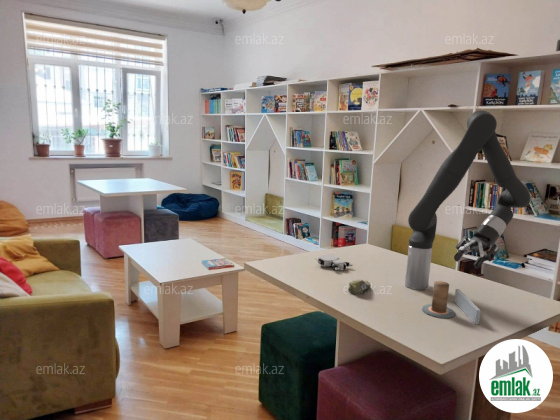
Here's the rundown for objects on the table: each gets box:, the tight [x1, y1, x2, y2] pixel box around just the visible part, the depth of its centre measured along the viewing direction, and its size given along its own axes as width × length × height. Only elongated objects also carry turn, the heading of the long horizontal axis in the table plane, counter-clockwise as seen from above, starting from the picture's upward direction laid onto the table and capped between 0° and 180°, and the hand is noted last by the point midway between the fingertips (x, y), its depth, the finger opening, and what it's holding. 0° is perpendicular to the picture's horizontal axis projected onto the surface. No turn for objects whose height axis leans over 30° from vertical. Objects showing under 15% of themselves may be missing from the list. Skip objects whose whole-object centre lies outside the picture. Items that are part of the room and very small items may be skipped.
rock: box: [347, 279, 371, 295], centre depth 170 cm, size 11×6×10 cm
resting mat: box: [421, 303, 456, 319], centre depth 152 cm, size 11×11×1 cm
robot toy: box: [314, 253, 354, 271], centre depth 199 cm, size 12×4×15 cm
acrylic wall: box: [453, 288, 481, 325], centre depth 152 cm, size 20×1×5 cm, turn 177°
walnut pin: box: [431, 280, 450, 313], centre depth 151 cm, size 5×5×10 cm
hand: (465, 263), depth 154 cm, fingers open, 8 cm apart
